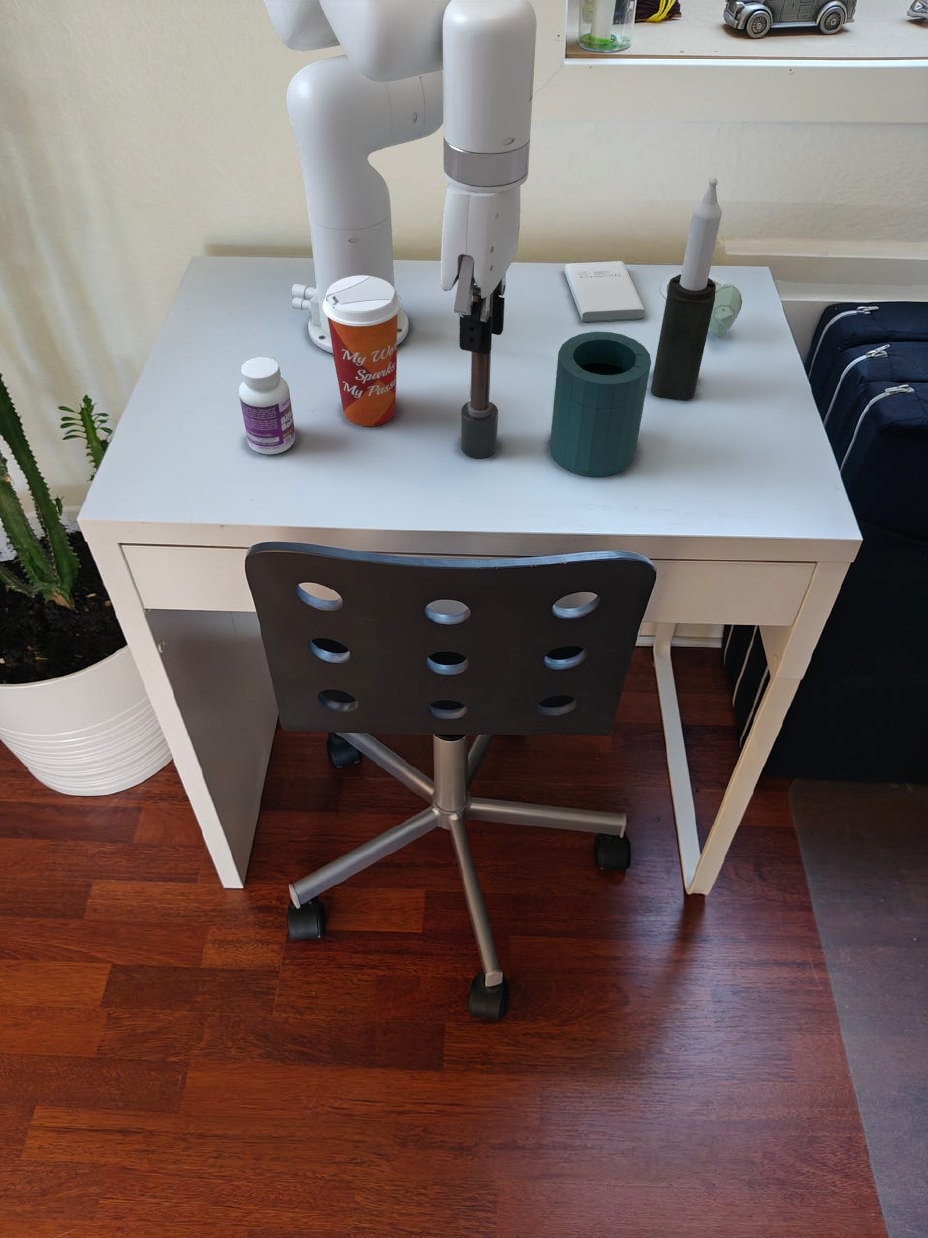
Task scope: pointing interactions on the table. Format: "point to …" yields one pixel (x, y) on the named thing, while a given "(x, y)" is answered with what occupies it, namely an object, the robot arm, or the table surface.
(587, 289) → the hard drive
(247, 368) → the pill bottle
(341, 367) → the coffee cup
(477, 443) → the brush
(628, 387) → the teal hollow cylinder
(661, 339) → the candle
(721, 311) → the green toy fish
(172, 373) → the table surface
